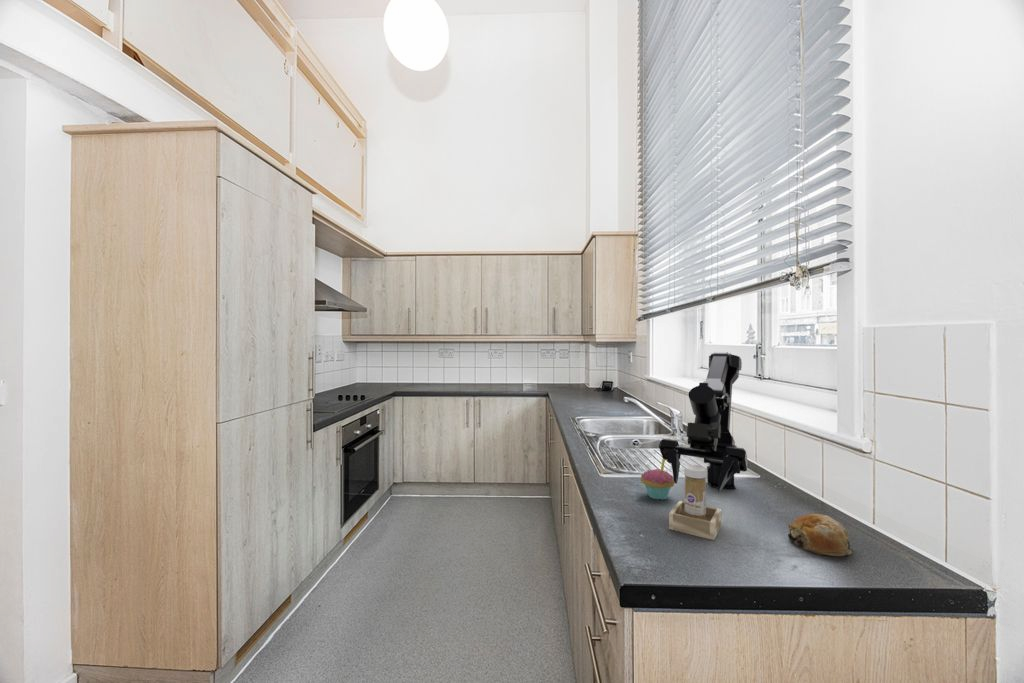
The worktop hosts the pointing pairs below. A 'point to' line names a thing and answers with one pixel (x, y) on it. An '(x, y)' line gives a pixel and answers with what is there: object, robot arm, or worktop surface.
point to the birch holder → (695, 522)
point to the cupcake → (657, 482)
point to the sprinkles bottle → (695, 491)
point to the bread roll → (820, 535)
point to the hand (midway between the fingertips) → (696, 486)
